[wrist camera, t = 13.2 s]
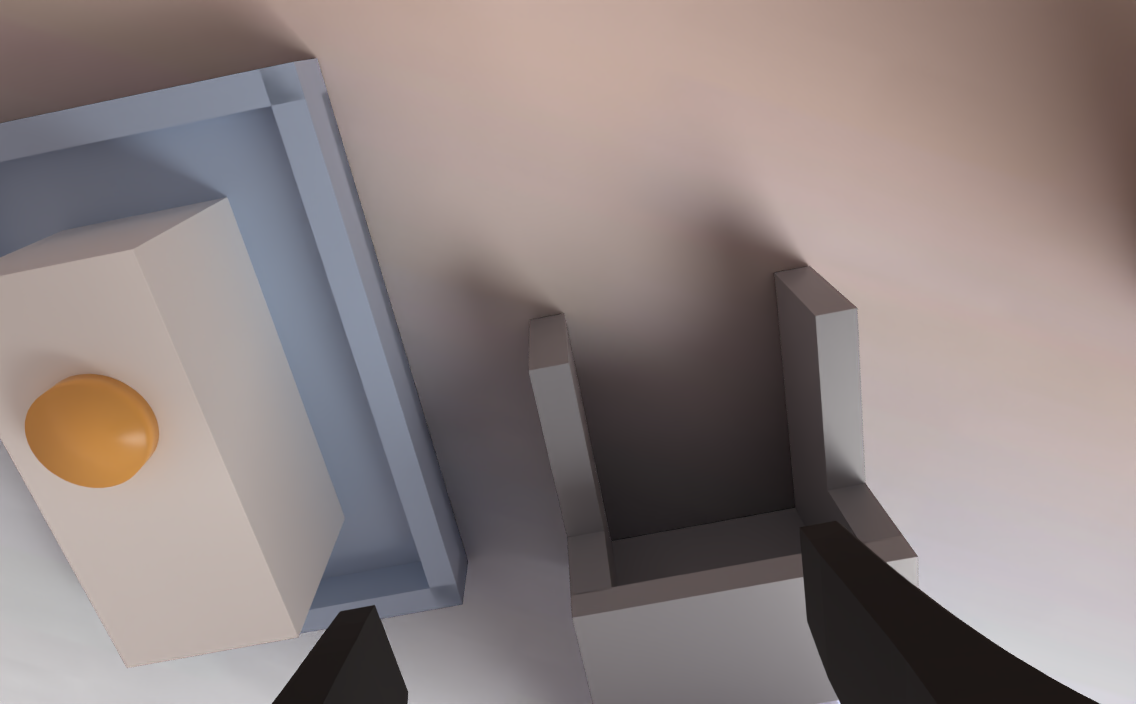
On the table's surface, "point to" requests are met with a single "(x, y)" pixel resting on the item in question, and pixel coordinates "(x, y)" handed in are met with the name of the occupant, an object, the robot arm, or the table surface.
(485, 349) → the table surface
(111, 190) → the tray
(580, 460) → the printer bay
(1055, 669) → the table surface
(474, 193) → the table surface
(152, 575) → the white block with knob
